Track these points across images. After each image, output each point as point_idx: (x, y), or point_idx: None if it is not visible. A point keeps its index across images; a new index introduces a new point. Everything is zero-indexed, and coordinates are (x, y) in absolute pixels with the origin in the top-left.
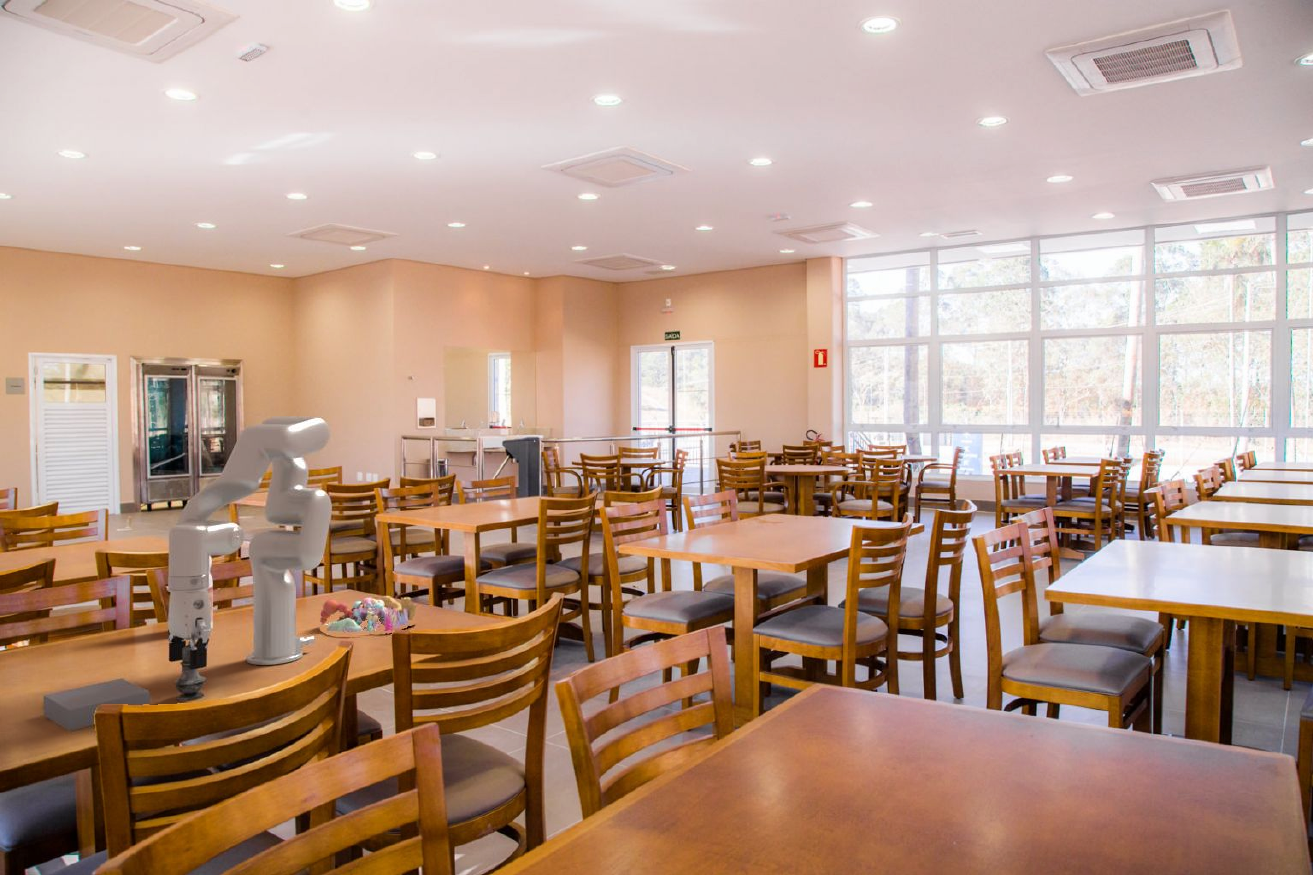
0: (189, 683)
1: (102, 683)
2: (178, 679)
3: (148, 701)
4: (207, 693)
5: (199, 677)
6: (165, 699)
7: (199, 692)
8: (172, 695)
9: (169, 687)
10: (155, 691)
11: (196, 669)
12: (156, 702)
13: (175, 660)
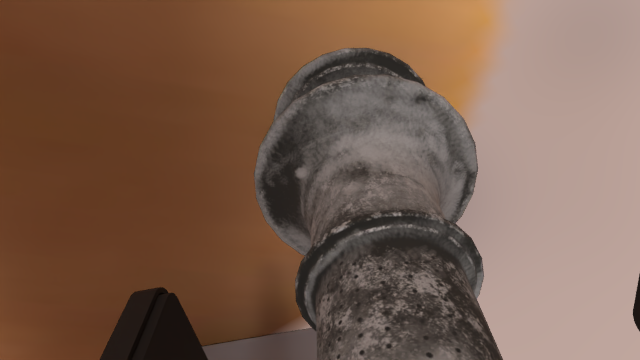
0: (463, 204)
1: None
2: (305, 243)
3: None
4: (350, 22)
5: (419, 139)
6: None
7: (345, 77)
8: (254, 196)
9: (65, 184)
10: (118, 248)
11: (435, 201)
12: None
13: (204, 357)
